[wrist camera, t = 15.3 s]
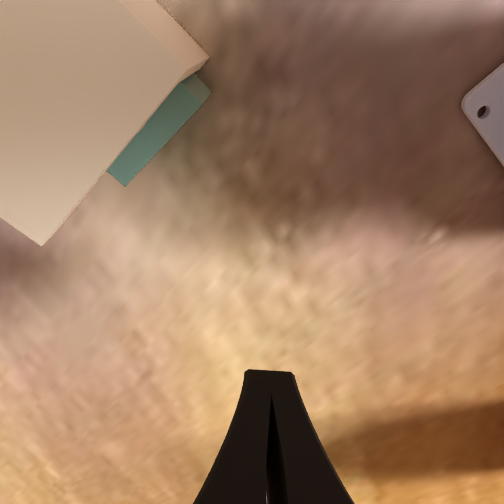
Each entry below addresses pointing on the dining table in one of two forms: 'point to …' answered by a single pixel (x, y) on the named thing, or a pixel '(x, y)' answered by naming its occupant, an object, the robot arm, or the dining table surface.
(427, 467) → the dining table surface
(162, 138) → the teal block
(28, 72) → the beige flanged peg
